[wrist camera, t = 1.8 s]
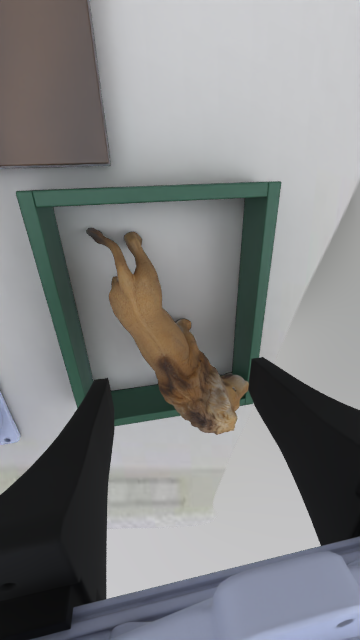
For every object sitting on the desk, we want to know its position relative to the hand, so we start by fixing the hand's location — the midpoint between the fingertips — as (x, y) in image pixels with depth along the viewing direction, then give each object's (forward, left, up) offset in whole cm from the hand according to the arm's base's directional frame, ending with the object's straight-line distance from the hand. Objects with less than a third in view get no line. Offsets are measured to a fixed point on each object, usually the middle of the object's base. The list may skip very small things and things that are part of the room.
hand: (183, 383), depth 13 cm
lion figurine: (0, 0, -10) cm, 10 cm away
